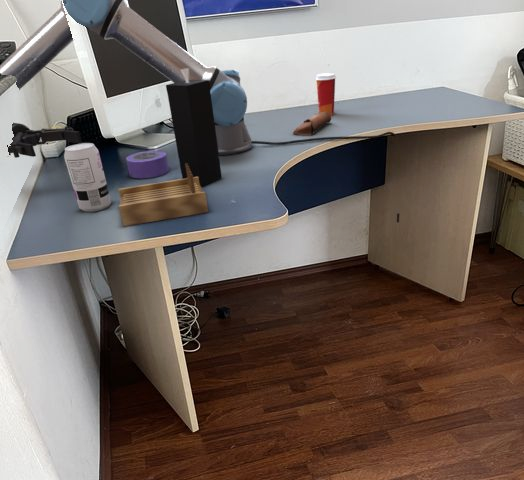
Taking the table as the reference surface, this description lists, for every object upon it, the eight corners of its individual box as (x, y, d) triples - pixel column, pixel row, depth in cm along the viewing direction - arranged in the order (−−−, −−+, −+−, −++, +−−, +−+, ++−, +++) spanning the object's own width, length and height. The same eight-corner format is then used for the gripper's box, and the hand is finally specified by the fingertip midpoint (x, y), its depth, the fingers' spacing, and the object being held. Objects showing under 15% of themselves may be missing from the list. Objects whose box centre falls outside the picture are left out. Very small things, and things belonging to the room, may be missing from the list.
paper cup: (326, 111, 209) (325, 72, 201) (340, 113, 203) (340, 73, 196) (312, 115, 205) (310, 75, 197) (326, 117, 200) (325, 76, 192)
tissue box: (202, 175, 151) (185, 65, 135) (222, 178, 146) (207, 65, 130) (182, 183, 146) (162, 70, 130) (202, 187, 141) (184, 70, 126)
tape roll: (176, 167, 160) (173, 150, 157) (155, 179, 151) (152, 161, 149) (143, 166, 164) (140, 150, 162) (122, 178, 156) (117, 161, 153)
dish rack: (201, 194, 136) (195, 160, 131) (208, 212, 124) (202, 174, 120) (123, 207, 133) (114, 172, 128) (123, 226, 122) (114, 188, 117)
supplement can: (74, 208, 136) (56, 148, 127) (102, 199, 140) (86, 140, 132) (89, 215, 131) (71, 152, 122) (118, 205, 135) (102, 144, 127)
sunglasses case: (309, 121, 194) (317, 104, 190) (325, 131, 194) (334, 115, 189) (291, 133, 181) (299, 115, 176) (308, 144, 181) (316, 127, 176)
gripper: (57, 140, 154) (101, 147, 142) (-24, 163, 139) (17, 172, 127) (49, 113, 150) (93, 117, 138) (-36, 133, 135) (5, 140, 123)
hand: (57, 143), depth 132 cm, fingers open, 13 cm apart
